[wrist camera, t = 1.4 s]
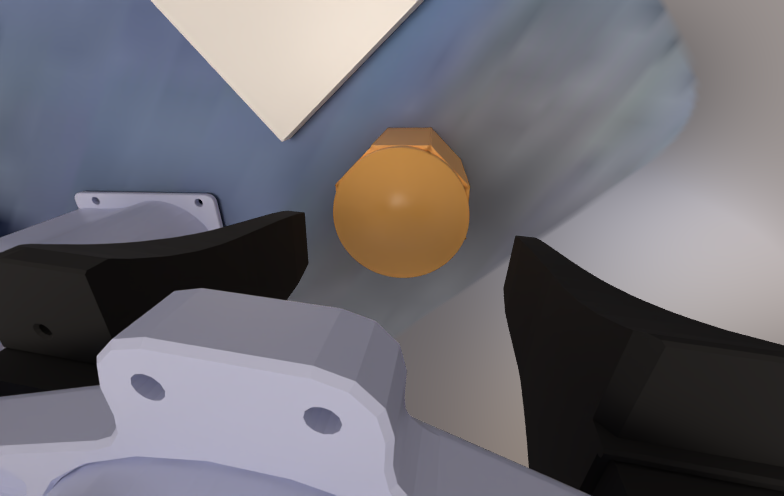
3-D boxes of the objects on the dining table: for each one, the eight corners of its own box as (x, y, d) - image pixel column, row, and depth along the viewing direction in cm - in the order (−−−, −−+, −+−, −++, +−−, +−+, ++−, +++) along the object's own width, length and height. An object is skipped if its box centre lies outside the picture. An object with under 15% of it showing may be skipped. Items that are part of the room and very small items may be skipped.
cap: (363, 223, 22) (338, 275, 16) (358, 127, 19) (326, 148, 13) (456, 225, 21) (464, 280, 15) (462, 127, 19) (476, 148, 13)
